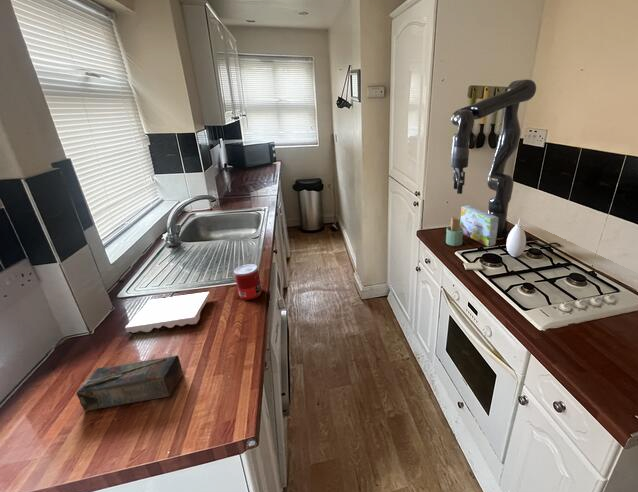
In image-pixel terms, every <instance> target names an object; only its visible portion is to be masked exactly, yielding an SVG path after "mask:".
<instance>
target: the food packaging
mask: <svg viewBox="0 0 638 492" xmlns="http://www.w3.org/2000/svg"><path fill="white" fill-rule="evenodd" d="M210 297H211V293H210V291H204V292H203V291H202V292H196V293H190V294H181V295H175V296H168V297H162V298H154V299H149V300H148V301H147V302H146V303H145V304H144V306H143V307H142V308H141V309H140V310H139V311H138V312H137V313H136V314H135V316H134V317H133V318H132V319H131V320H130V321H129V323H128V324H126V325H125V331H126V333H127V334H128V333H133V334H134V333H138V332H145V333H149V332H151V331H152V330H153V329H154V328H155V329H160V328H161V327H167V328H169V329H170V328H174V327H175V326H179V327H184V326H185V325H197V323H198V322H199V320H200V319H201V313H202V310H203V308H204V307H205V305H206V303H207V302H208V300H209V298H210Z"/></svg>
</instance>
